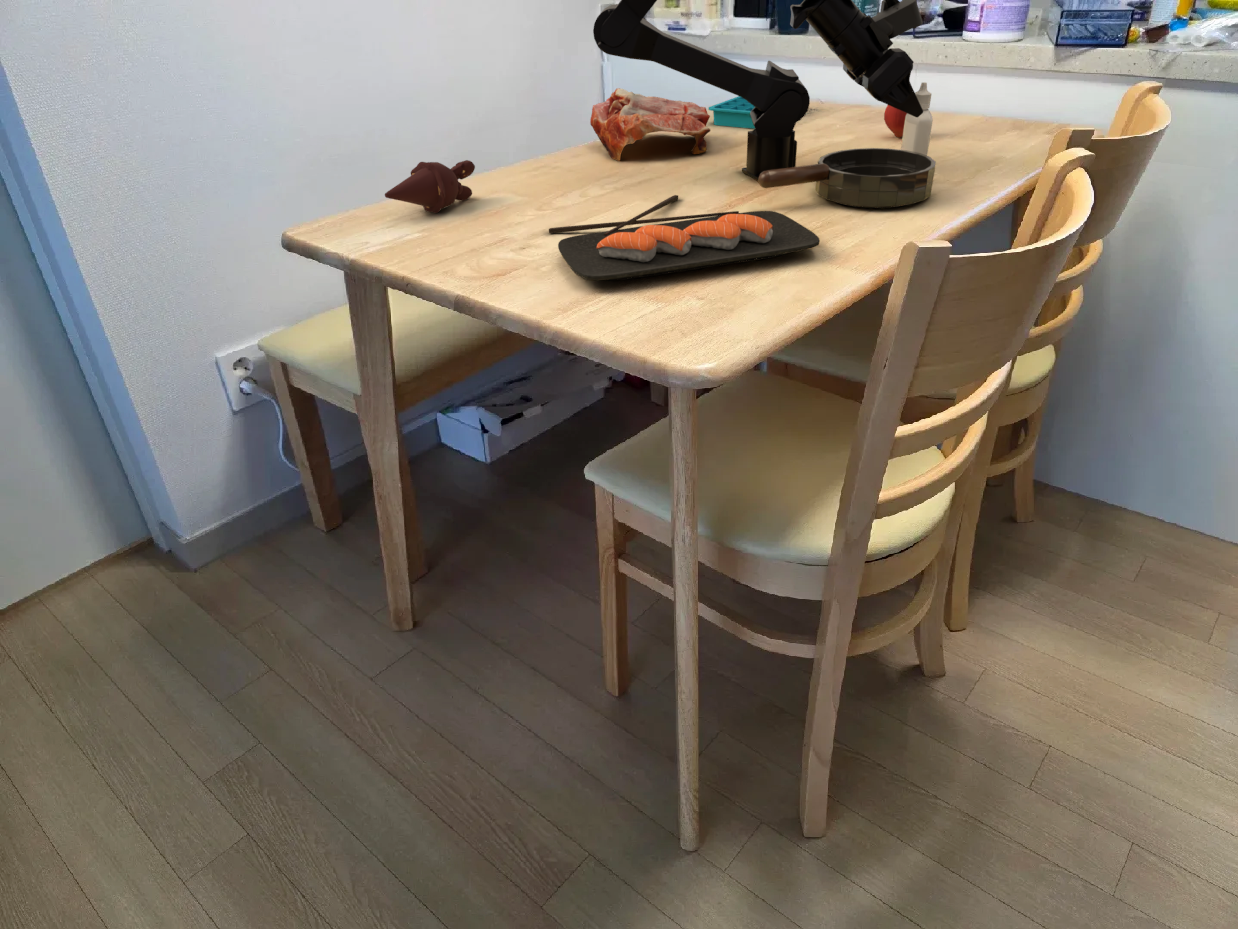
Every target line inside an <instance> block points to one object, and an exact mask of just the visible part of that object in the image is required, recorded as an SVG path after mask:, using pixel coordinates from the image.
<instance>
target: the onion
mask: <svg viewBox="0 0 1238 929" xmlns="http://www.w3.org/2000/svg"><path fill="white" fill-rule="evenodd" d="M886 105H887V104H886ZM906 114H907V113H906V112H903V111H901V110H899V109H896V108H894V107H892V106H890V105H887V106H886V107H885V110H884V113H883V120H884V123H885V125H886V127H887V128H888V130H889V131H891V133H892V134H893V135H894V136H895V137H896V138H899V139H900V138H902V137H903V130H904V123H905V117H906Z"/></svg>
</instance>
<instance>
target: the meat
mask: <svg viewBox="0 0 1238 929" xmlns="http://www.w3.org/2000/svg"><path fill="white" fill-rule="evenodd" d="M710 118H711V115H710V114H709V113H708V111H707V108H706V107H705V106H700V105H698V104H697V103H695V102H693V101H682V100H673V99H668V98H665V97H660V96H646V95H643V94H640V93H634V92H633V91H628V90H626V89H625V88H621V87H617V88H616V89H615V90H614V91H613V92H612V93H611V94H610V96H609V97H608V98H607V99H606V100H605V101H603V102H598V103H596V104H593V105H592V108H591V116H590V119H589V120H590V122H589V124H590V126H591V127H592V129H593V131H594V133H595V134H596V135H597V138H598V140H599V141H600V143H601V144H602V146H603V147H604V149H605V150H606V152H608V155H609V156H610V158H611V159H612V160H616V161H617V162H620V161H621V155H622V152H623V149H624V148H625V147H626V146H627V145H630V144H634V143H635V142H636V141H638V140H643V138H644V137H645V136H646V135H647V134H651V133H658V132H669V133H679V134H683V136H690V137H692V138H695V144H694V146H693V147H692V149H691V150H690V153H691V154H693V155H699V154H702V153H706V152H707V146H708V144H707V140H706V139H705V137H706V136H707V134H708V133H710V132H711V128H710V127H708V126H707V124H708V122H709V120H710Z"/></svg>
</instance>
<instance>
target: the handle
mask: <svg viewBox="0 0 1238 929" xmlns="http://www.w3.org/2000/svg"><path fill="white" fill-rule="evenodd" d="M829 169H830V168H829V166H828V165H826V164H823V163H822V164H818V163H815V164H807V165H800V166H798V165H797V166H795V167H790V168H782V169H775V170H767V171H763V172H762V173H761V174H760V175H759V178H758V180H757V181H758V184H759V186H760V187H761V188H763V189H772V188H779V187H786V186H793V185H802V184H808V183H816V182H817V181H824V180H826V179H827V178H828V175H829Z"/></svg>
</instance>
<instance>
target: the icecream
mask: <svg viewBox="0 0 1238 929" xmlns="http://www.w3.org/2000/svg"><path fill="white" fill-rule="evenodd" d="M475 169H476V165H475V164H474V162H472V161H471V160H468V159H466V160H462V161H459V162H457V163H456V164H455V165H454V166H452V167H451V168H449V167H448V166H446V165H444V164H443V163H441V162H438V161H428V162H426V161H420V162H418V163H417V165H416V166H415V167H414V168H412V169H411V171H410V176H408V177H407V178H406V179H404V180H402V181H400V182H399V183H398V184H396V185H395V186H394V187H392V188H391V189H389V190H388V191H386V192H385V193H384V197H385V198H386V199H389V200H394V201H400V202H404V203H409V204H413V205H417V206H422V207H423V209H424V211H425V212H428V213H429V212H430V213H434V214H438V213H439V212H440V211H441V210H442V209H445V208H447V207H450V206H452V205H453V204H454V203H455V202H456V201H462V202H463V201H466V200H469V199H470V198H471V197H472V195H473V190H472V189H471V187H469V186H468V185H464V184H462V182H460V181H459V180H461V181H462V180H464V179H466V178H468V177H470V176H471V175H473V173H474V171H475Z"/></svg>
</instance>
